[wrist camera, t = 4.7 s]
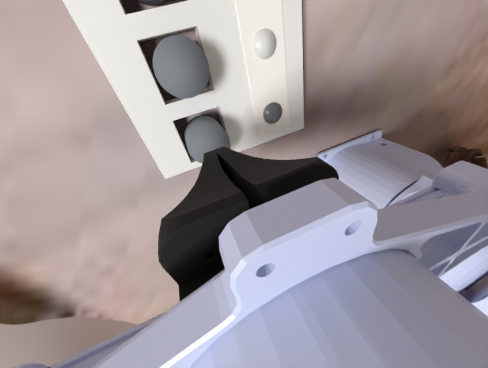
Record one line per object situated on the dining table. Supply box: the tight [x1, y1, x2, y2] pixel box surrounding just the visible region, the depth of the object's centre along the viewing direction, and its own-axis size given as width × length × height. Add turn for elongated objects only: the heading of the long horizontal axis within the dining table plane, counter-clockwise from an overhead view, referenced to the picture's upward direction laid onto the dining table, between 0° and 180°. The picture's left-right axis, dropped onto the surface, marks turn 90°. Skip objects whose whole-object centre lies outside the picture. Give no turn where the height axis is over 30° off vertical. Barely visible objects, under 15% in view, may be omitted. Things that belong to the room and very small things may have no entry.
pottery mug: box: [440, 146, 488, 169], centre depth 33 cm, size 12×10×8 cm
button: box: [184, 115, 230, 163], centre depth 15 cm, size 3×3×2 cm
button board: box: [62, 0, 304, 179], centre depth 14 cm, size 14×15×2 cm
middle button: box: [153, 35, 209, 99], centre depth 12 cm, size 3×3×2 cm
